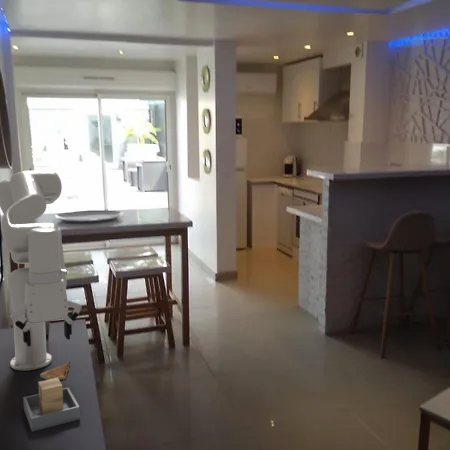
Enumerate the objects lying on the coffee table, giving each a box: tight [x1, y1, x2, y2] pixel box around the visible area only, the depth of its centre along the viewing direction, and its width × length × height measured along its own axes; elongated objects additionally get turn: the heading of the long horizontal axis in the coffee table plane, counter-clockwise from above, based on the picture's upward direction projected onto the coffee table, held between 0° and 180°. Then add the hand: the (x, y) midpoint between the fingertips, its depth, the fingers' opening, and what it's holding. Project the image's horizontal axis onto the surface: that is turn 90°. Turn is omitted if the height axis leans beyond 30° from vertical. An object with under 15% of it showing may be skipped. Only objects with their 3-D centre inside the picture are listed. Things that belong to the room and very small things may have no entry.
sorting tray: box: [22, 387, 81, 433], centre depth 132 cm, size 12×12×4 cm
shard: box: [39, 362, 71, 380], centre depth 155 cm, size 11×8×2 cm
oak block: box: [38, 378, 63, 415], centre depth 131 cm, size 5×5×8 cm
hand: (48, 341), depth 129 cm, fingers open, 9 cm apart
